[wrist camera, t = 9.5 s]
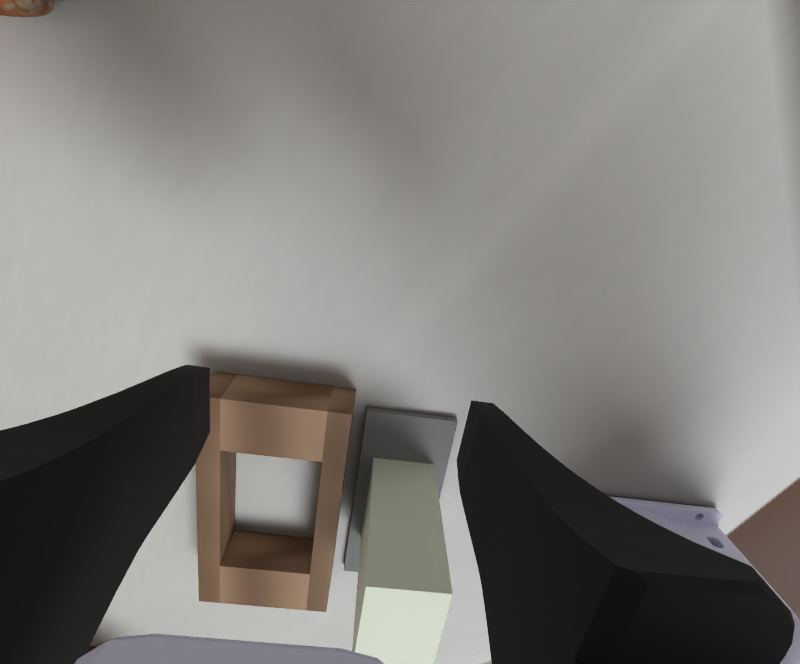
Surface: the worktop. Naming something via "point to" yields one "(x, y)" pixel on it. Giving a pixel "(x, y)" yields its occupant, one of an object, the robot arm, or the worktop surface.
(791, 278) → the worktop surface
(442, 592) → the sage block
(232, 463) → the pocket block
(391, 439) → the mat
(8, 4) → the tin
